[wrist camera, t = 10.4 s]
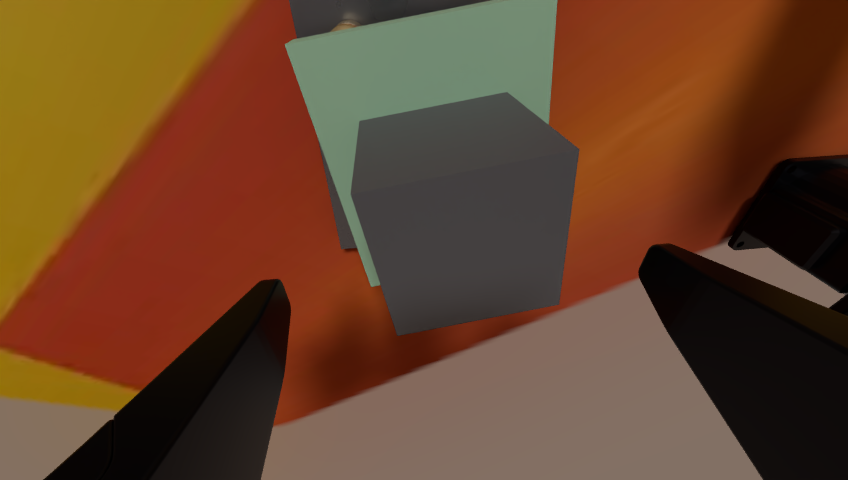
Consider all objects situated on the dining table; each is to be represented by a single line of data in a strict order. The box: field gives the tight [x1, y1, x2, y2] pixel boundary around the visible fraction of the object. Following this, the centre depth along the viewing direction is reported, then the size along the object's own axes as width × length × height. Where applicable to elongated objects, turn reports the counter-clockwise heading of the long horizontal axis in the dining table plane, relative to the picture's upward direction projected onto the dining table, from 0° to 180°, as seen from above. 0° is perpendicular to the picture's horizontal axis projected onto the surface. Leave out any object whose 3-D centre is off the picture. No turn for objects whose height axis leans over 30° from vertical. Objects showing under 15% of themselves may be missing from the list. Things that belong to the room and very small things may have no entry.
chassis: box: [289, 0, 491, 249], centre depth 15 cm, size 10×12×4 cm
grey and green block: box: [285, 0, 579, 336], centre depth 11 cm, size 8×10×6 cm
